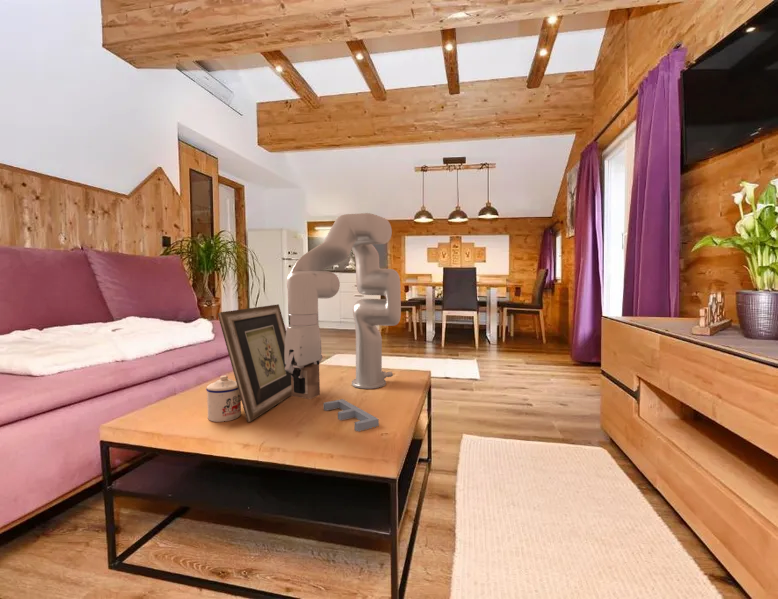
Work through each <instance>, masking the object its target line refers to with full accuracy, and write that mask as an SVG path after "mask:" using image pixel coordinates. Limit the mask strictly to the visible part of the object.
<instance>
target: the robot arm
mask: <svg viewBox="0 0 778 599" xmlns="http://www.w3.org/2000/svg"><path fill="white" fill-rule="evenodd" d="M392 232H393V230H392V226H391V223H390V221H389V220H388V219H387V218H385V217H382V216H380V215H377V214H375V213H370V212H369V213H368V212H363V213H347V214H342V215H339V216H338V217H337V218H336V219H335V221H334V223H333V224H332V226H331V227H330V229H329V232H328V233H327V234H326V237H325V239H324V240H323V242H322V243H320V244H318V245H317V246H315V247H313V248H312V249H310V250H309V251H308V252H306V253H304V254H303V255H302V256H301V257H299V259H297V261H296V262H295V264H294V265H293V266H292V268H291V271H290V272H289V274H288V275H287V280H286V288H287V314H288V315H287V316H288V326H287V327H286V336H285V350H284V360H285V365H286V366H285V370H286V371H287V372H289V373H290V374H291V375H292V378H293V381H294V392H295V393H301V394H304V393H305V378H303V372H304V366H305V365H308V364H318V365H319V366H320V363H321V361H322V359H323V355H322V338H321V337H322V336H321V330H320V325H319V299H331V298H333V297H335V296H336V295H337V294H338V292H339V291H340V285H341V284H340V280H339V277H338V275H337V274H336V273H334V272H332V271H328V270H325V269H327V268H328V269H329V268H331V267H334V266H337V265H339V264H341V263H344V262H345V261H347V259H348V258H349V256H350V253H351V251H352V252H353V254H354V258H355V260H354V261H355V280H356V281H355V282H356V290H357V292H358V293H359V294H360V295H364V296H384V297H385V298H361V299H358V300H357V301H356V302H354V304H353V306H352V316H353V321H354V327H355V328H354V329H355V378H354V379H352V380H351V386H352V387H354V388H357V389H364V390H365V389H366V390H367V389H369V390H370V389H379V387H380V388H383V387H384V386H386V384H387V381H386V378H391V377H393V375H394V373H393V371H387V372H386V371H383V370H382V369H383V368H382V362H383V361H382V360H383V359H382V358H383V357H382V356H383V352H382V350H383V349H382V348H383V346H382V345H383V344H382V343H383V340H382V339H383V337H382V335H381V332H380V330H379V329H378V327H377V326H385V327H388V326H389V327H391V326H393V327H394V326H397V325H398V324H399V322H400V321H401V316H402V306H401V305H402V304H401V302H402V300H401V299H402V298H401V297H402V296H401V293H402V292H401V289H402V288H401V278H400V277H401V276H400V275H399V273H398V272H397V271H396V270H395V269H393V268H380V254H379V252H378V250H377V249H376V247H375V246H374V245H385V244H387V243H389V241H390V240H391V238H392ZM297 368H299V372H298V370H297Z"/></svg>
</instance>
